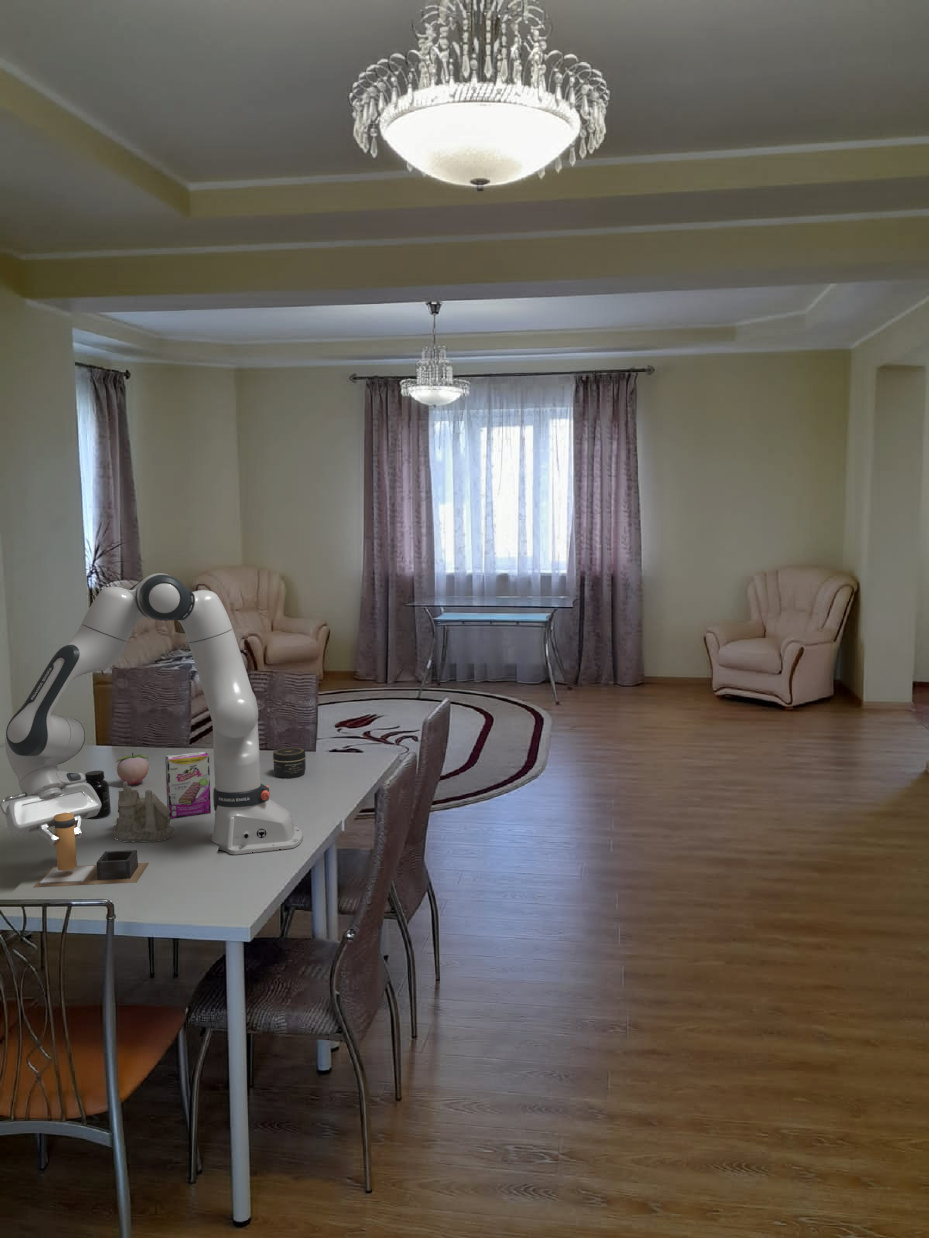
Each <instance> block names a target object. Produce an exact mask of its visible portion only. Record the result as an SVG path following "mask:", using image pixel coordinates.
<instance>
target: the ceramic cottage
mask: <svg viewBox="0 0 929 1238" xmlns="http://www.w3.org/2000/svg"><path fill="white" fill-rule="evenodd" d="M122 786H123V787H122V790H118V799H117V800H118V801H117V807H118V808H117V813H118V816H119V817H117V818H116V820H115V821H116V823H115V825H114V834H113V836H114V837H113V839H114V838H116V839H118V840H121V841H120V842H122V841H126V842H125V843H133V842H132V841H156V842H160V841H159V840H163V841H165V840H164V839H166V840H169V839H171V838H172V837H174V836H175V833H176V830H175V827H174V826H173V825H171V819H172V818H171V817H169V813H170V812H171V811H170V809H169V808H168V807H167V805H165V804H164V803H163V802H162V801H161V800H160V798H159V797H158V796H157V794H156V793H155V792H154V793H153V791H152V789H146V790H145V791H144V792H145V793H144V796H143V795H140V794H139V791H138V789H132V786H131V785H128V783H127V782H125V781H123V783H122ZM168 838H169V839H168ZM116 839H115V840H116ZM118 840H117V841H118Z"/></svg>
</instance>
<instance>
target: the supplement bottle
mask: <svg viewBox="0 0 929 1238" xmlns="http://www.w3.org/2000/svg"><path fill="white" fill-rule="evenodd" d="M84 775H85V777H86V779H85V783H88V784H90V785H91V786H92V787H93V789H94V790H95V792H96V794H97V795H98V797H99V799H100V801H101V809H100V811H99V812H98V814H97V815H96V816H93V817H89V818H88V819H91V820H97V819H102V818H103V819H104V818H105V817H107V816H109V815H110V814H111V813H112V812H111V811H112V809H111V799H110V797H111V796H110V794H111V793H110V784H109V782H108V781H107V780H105V772H104V771H103V770H91V771H87V772H86V773H85V774H84Z"/></svg>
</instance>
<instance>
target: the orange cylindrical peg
mask: <svg viewBox="0 0 929 1238" xmlns="http://www.w3.org/2000/svg"><path fill="white" fill-rule="evenodd" d="M74 828H75V825H74V814H73V813H60V814H57V815H55V816H54V834H55V833H56V834H57V837H58V838H59V841H58V843H56V844H55V848H56V851H55V852H56V864H57V865H56V867H58V870H60V871H67V870H72V869H74V868H76V867H77V866H78V863H77V848H76V847H77V846H76V838H75V829H74Z"/></svg>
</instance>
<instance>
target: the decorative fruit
mask: <svg viewBox="0 0 929 1238" xmlns="http://www.w3.org/2000/svg"><path fill="white" fill-rule="evenodd" d="M147 759H149V757H147V755H145V754H136V755H134V752H131V756H129V755H128V756H127V755H126V756H122V757H120V758H118V759H117V760H116V763H117V767H116V773H117V776H118V777H119V778H120V780H122V781H123V782H127V784H129V785H133V786H134V785H136V784H138V783H140V782H141V781H144V779H145V778H146V777H147V775H148V773H149V768H150V767H149V763H148V760H147ZM149 760H150V759H149Z"/></svg>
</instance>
